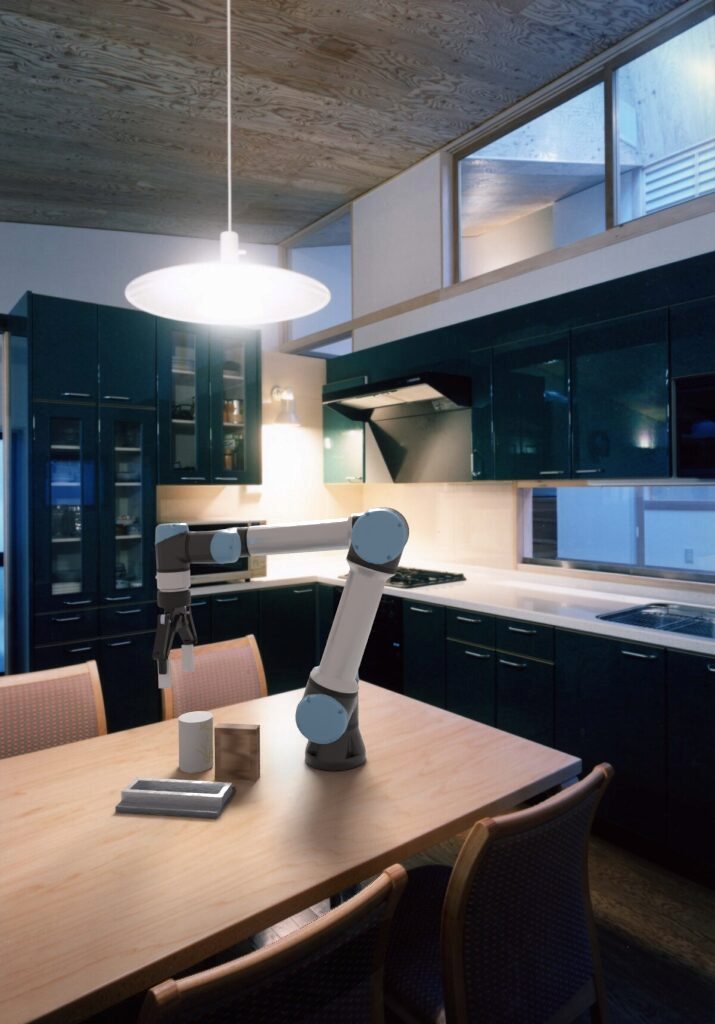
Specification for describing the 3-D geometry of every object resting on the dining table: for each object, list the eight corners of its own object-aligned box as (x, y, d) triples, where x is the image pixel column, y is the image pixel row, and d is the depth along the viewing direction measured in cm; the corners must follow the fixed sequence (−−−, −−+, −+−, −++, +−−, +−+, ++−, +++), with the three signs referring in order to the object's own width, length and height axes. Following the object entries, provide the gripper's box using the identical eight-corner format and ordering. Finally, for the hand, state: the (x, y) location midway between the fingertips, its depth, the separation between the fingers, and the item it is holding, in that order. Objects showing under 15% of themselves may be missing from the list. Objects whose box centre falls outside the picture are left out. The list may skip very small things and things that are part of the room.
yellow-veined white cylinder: (204, 773, 154) (204, 723, 154) (173, 771, 156) (172, 721, 155) (218, 760, 162) (218, 712, 162) (188, 757, 164) (187, 710, 163)
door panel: (260, 775, 153) (259, 724, 153) (256, 781, 150) (256, 729, 150) (219, 773, 155) (218, 722, 154) (214, 778, 151) (214, 727, 151)
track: (235, 791, 145) (235, 777, 145) (217, 818, 133) (217, 803, 133) (141, 786, 147) (141, 772, 147) (115, 812, 136) (115, 797, 136)
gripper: (179, 582, 166) (182, 665, 166) (133, 597, 141) (137, 695, 141) (208, 581, 165) (211, 665, 165) (166, 597, 140) (170, 695, 141)
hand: (177, 679), depth 153 cm, fingers open, 13 cm apart
